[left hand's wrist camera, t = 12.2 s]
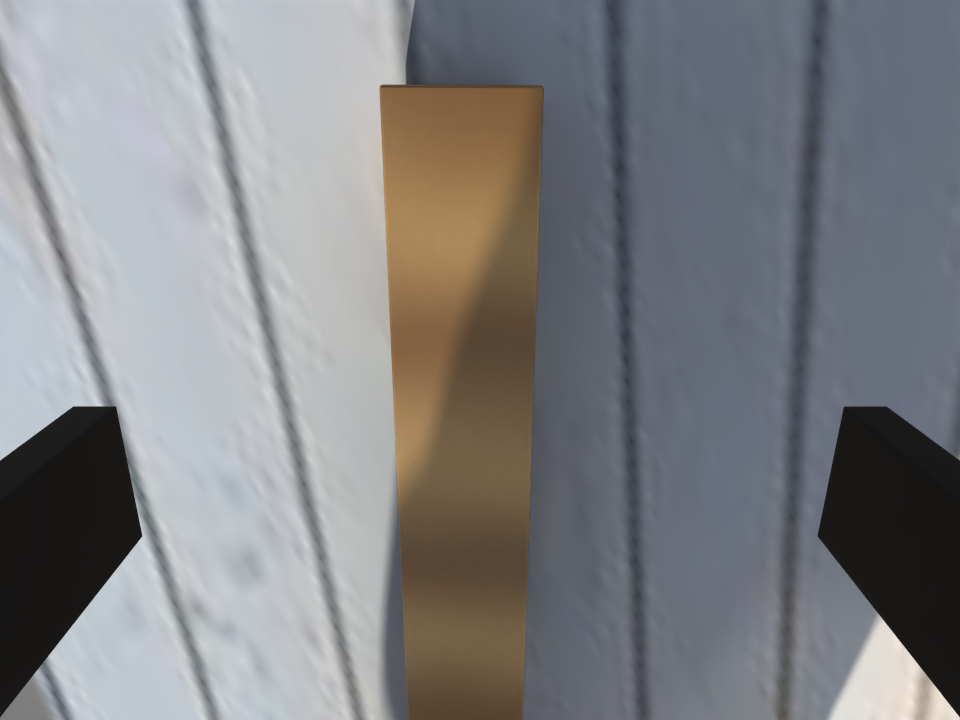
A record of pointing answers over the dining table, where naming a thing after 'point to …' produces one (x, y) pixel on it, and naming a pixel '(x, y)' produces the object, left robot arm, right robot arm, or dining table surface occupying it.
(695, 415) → the dining table surface
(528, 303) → the bar
